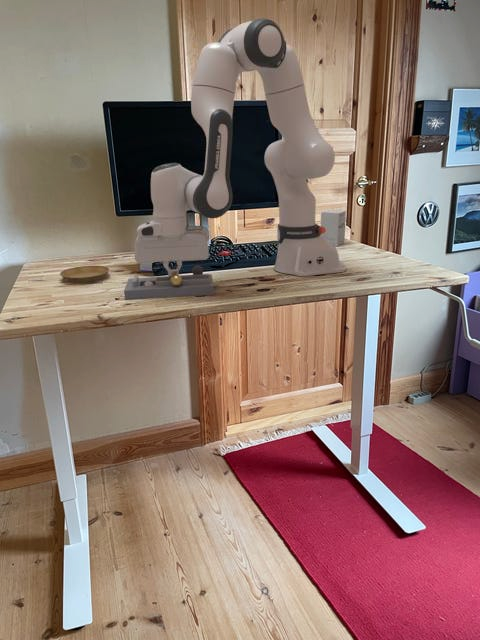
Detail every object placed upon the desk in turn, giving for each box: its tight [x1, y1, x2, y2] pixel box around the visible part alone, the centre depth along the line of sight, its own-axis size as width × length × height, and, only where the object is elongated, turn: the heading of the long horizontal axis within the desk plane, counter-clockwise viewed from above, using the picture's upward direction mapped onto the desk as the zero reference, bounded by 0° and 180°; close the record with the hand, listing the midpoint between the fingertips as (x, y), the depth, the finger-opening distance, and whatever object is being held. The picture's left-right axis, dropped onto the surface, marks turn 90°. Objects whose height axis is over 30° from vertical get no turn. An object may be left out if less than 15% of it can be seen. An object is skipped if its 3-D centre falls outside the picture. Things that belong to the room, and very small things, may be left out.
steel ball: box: [143, 281, 154, 286], centre depth 140 cm, size 3×3×3 cm
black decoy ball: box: [191, 264, 204, 275], centre depth 144 cm, size 3×3×3 cm
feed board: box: [123, 273, 215, 301], centre depth 140 cm, size 24×12×4 cm, turn 96°
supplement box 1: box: [139, 262, 154, 273], centre depth 161 cm, size 6×6×12 cm
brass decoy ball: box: [170, 274, 182, 286], centre depth 136 cm, size 3×3×3 cm
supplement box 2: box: [320, 209, 347, 248], centre depth 190 cm, size 7×7×13 cm
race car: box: [218, 250, 233, 256], centre depth 168 cm, size 13×5×4 cm, turn 150°
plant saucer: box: [59, 265, 110, 284], centre depth 155 cm, size 15×15×3 cm
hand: (173, 276), depth 140 cm, fingers closed
